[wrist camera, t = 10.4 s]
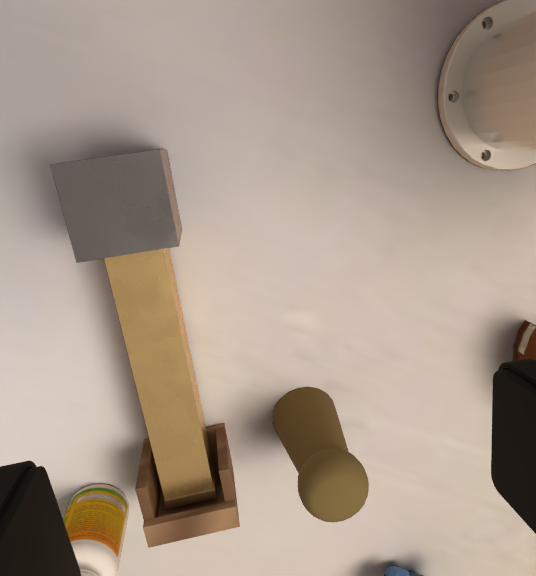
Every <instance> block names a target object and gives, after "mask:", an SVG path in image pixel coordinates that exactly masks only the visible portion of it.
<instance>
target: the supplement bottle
mask: <svg viewBox="0 0 536 576" xmlns="http://www.w3.org/2000/svg"><path fill="white" fill-rule="evenodd" d="M128 513H129V504H128V501H127V498H126V497H125V495H124V494H123V493H122V492H121V491H120V490H118V489H117V488H115V487H113V486H110V485H105V484H95V485H90V486H87V487H85V488H82V489H81V490H79V491H78V492H77V493H75V494H74V496H73V497H72V498H71V500H70V502H69V504H68V506H67V509H66V512H65V515H64V518H63V521H64V524H65V527H66V530H67V533H68V536H69V539H70V542H71V545H72V548H73V551H74V553H75V556H76V559H77V562H78V565H79V568H80V572H81V576H116V575H117V571H118V567H119V562H120V556H121V551H122V546H123V541H124V535H125V530H126V525H127V520H128Z"/></svg>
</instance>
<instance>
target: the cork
mask: <svg viewBox="0 0 536 576" xmlns="http://www.w3.org/2000/svg"><path fill="white" fill-rule="evenodd" d="M273 426H274V428H275V430H276V432H277V434H278V436H279V438H280V440H281V442H282V443H283V445H284V447H285V449H286V451H287V453H288V454H289V456H290V458H291V460H292V462H293V464H294V466H295V467H296V469H297V471H298V473H299V475H298V492H299V496H300V498H301V501H302V503H303V505H304V507H305V508H306V509H307V510H308V511H309V512H310V513H311V514H312V515H313V516H314V517H316V518H318V519H321V520H323V521H326V522H339V521H343V520H346V519H348V518H350V517H352V516H353V515H355V514H356V513H357V512H359V510H360V509H361V508H362V506H363V505H364V503H365V501H366V498H367V495H368V485H369V483H368V477H367V475H366V472H365V469H364V467H363V466H362V464H361V463H360V462H359V461H358V460H357V459H356V457H354V456H353V455H352V454H351V453H349V452H348V448H347V445H346V442H345V439H344V435H343V432H342V429H341V425H340V422H339V419H338V415H337V412H336V409H335V406H334V403H333V401H332V399H331V398H330V397H329V395H328V394H327V393H325V392H324V391H322V390H320V389H318V388H312V387H303V388H298V389H295V390H293V391H290V392H288V393H287V394H286V395H285V396H283V397H282V398H281V399H280V401H279V402H278V403H277V405H276V406H275V409H274V413H273Z"/></svg>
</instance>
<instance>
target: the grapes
mask: <svg viewBox="0 0 536 576" xmlns="http://www.w3.org/2000/svg"><path fill="white" fill-rule="evenodd" d="M384 576H422V575H420V574H417V573H411V572H410V573H409V571H408V570H406V569H403V568H400V567H397V566H390V567H388V568H386V571H385V574H384Z"/></svg>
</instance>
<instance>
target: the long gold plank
mask: <svg viewBox="0 0 536 576" xmlns="http://www.w3.org/2000/svg"><path fill="white" fill-rule="evenodd" d="M104 261H105V265H106V269H107V273H108V277H109V281H110V285H111V289H112V292H113V296H114V300H115V304H116V308H117V312H118V316H119V320H120V324H121V328H122V332H123V336H124V340H125V344H126V348H127V352H128V356H129V360H130V364H131V368H132V372H133V376H134V380H135V384H136V388H137V392H138V396H139V400H140V404H141V408H142V412H143V416H144V420H145V424H146V428H147V432H148V435H149V439H150V443H151V447H152V451H153V455H154V459H155V463H156V467H157V471H158V475H159V479H160V483H161V487H162V491H163V495H164V505H165V509H171V508H175V507H180V506H184V505H189V504H193V503H198V502H202V501H207V500H211V499H216V498H217V493H216V477H215V464H214V459H213V458H212V455H211V450H210V445H209V440H208V435H207V431H206V426H205V421H204V416H203V411H202V406H201V401H200V397H199V392H198V387H197V382H196V377H195V372H194V367H193V362H192V358H191V353H190V348H189V343H188V338H187V333H186V328H185V323H184V319H183V314H182V309H181V304H180V299H179V294H178V289H177V284H176V280H175V275H174V270H173V265H172V260H171V255H170V250H169V248H165V249H159V250H152V251H146V252H140V253H134V254H128V255H122V256H115V257H109V258H104Z"/></svg>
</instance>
